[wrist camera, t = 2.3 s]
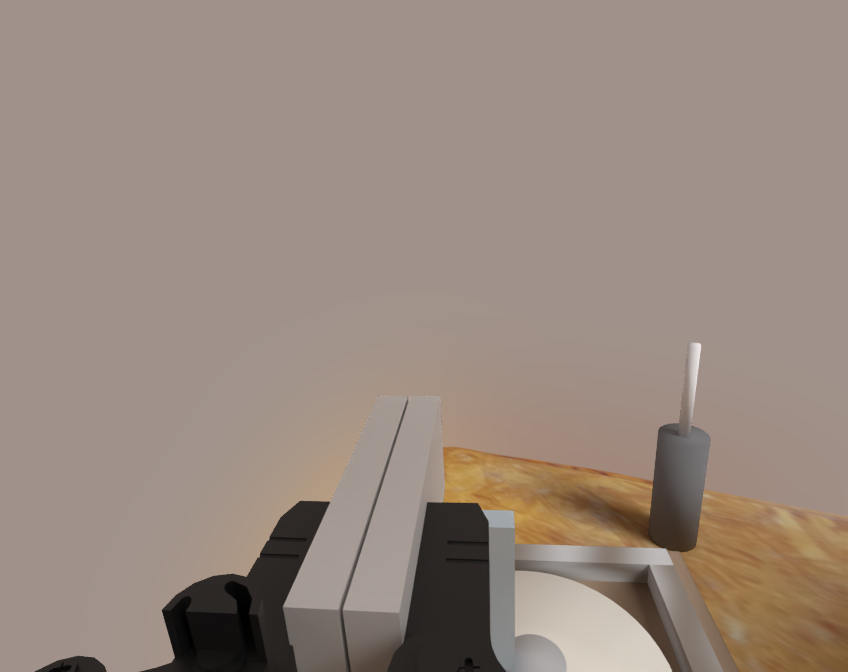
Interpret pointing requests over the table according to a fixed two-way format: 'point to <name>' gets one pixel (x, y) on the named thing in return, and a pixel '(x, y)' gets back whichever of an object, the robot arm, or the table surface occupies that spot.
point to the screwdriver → (680, 471)
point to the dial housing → (642, 596)
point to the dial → (558, 619)
